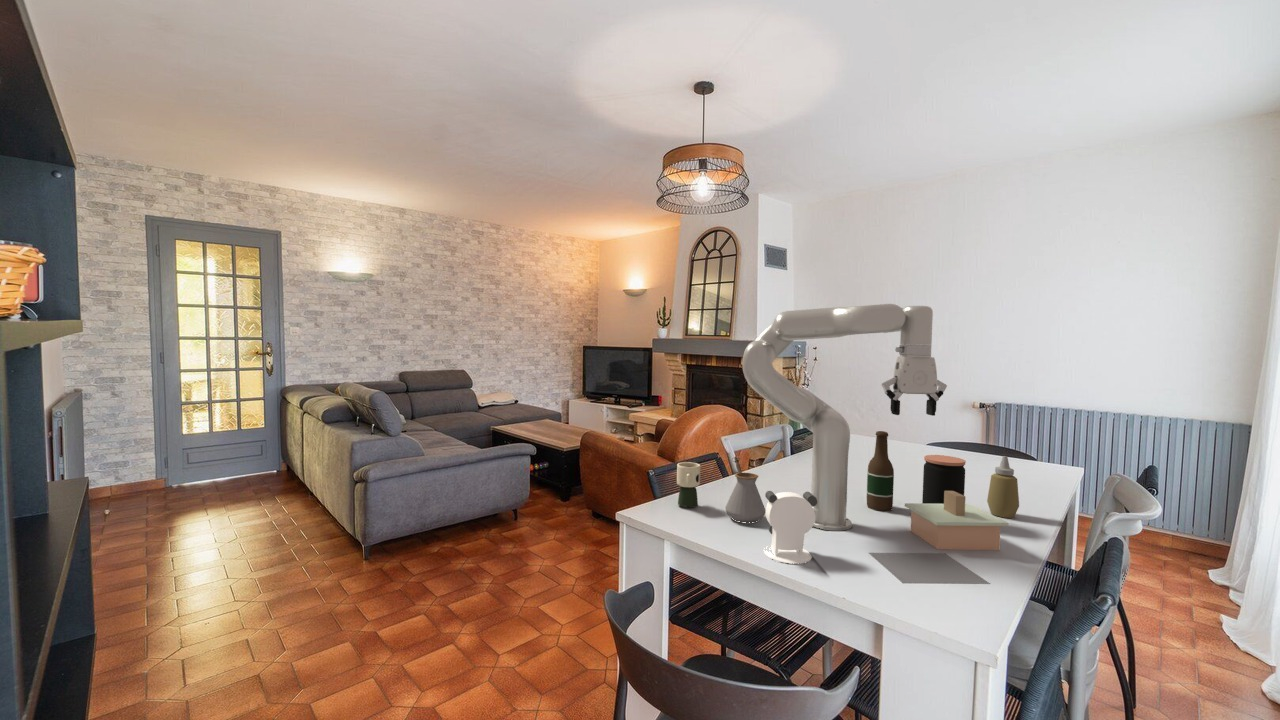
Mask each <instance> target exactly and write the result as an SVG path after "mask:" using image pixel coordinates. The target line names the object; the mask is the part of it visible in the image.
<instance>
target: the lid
mask: <svg viewBox="0 0 1280 720" xmlns="http://www.w3.org/2000/svg"><path fill="white" fill-rule="evenodd" d="M904 507H905V508H908V510H910V511H911V510H912V511H914V512H915V513H917V514H919V515H920V516H922V517H924V518H925V519H927V520H929V521H930V522H932V523H934V524H935V525H950V526H1000V527H1009V523H1010V522H1008V521H1006V520H1004V519H1002V518H1001V517H999V516H996V515H993V514H991V513H988V512H986V511H985V510H983V509H981V508H979V507H977V506H974V505H973V504H970V503H966V496H965V495H964V496H963V495H961V494H959V493H957V492H955V491H944V504H924V503H920V502H919V503H916V502H915V503H914V502H913V503H911V502H907V503H904Z"/></svg>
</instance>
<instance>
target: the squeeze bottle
mask: <svg viewBox="0 0 1280 720" xmlns="http://www.w3.org/2000/svg"><path fill="white" fill-rule="evenodd" d="M1009 463H1010V462H1009V458H1008V456H1005V455H1003V456H1002V458H1001V461H1000V464H999V466H995V468H994V473H993V474H991V476H990V482H989V488H988V494H987V499H986V502H987V505H988V507H989V511H990V514H991V515H993V516H995V517H998V518H1005V519H1011V518H1012V519H1013V518H1014V517H1015V515H1016V514H1017V512H1018V510H1019V508H1020V497H1019V485H1018V484H1019V483H1018V478H1017V477H1016V476H1014V473H1015V470H1014V469H1013V468H1011V467H1010V464H1009Z"/></svg>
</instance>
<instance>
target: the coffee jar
mask: <svg viewBox="0 0 1280 720" xmlns="http://www.w3.org/2000/svg"><path fill="white" fill-rule="evenodd" d="M923 457H924V458H923V460H924V461H925V463H924V464H923V472H922V473H923V478H922V479H923V480H922V499H921V502H922V503H924V504H944V491H955V492H957V493H959V494H961V495H963V496H965V488H966V487H965V486H966V468H965V467H964V466H965V465H966V460H965V459H964V458H960V457H957V456H951V455H942V454H928V455H924V456H923Z"/></svg>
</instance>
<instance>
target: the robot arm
mask: <svg viewBox="0 0 1280 720" xmlns="http://www.w3.org/2000/svg"><path fill="white" fill-rule="evenodd" d="M933 312H934V311H933V308H932V307H931V306H929V305H908V306H903V307H901V306H899V305H898V304H894V303H883V304H882V303H881V304H869V305H859V306H834V307H823V308H811V309H796V310H795V309H794V310H785V311H782V312H780V313H778V314H777V315H776V316H775V317H774V319H773V321H772V323H771V324H770V325H769V326H768V327H767V328H766V329H765V330H764V331H763V332H762V333H761V334H760V335H759V336H758V337H757V338H756V339H755V340H753V341H751V342H749V343H748V344H747V346H746V347H745V349H744V352H743V356H742V363H741V365H742V372H743V375H744V378H745V380H746V382H747V384H748V385H749V386H750V388H751V389H752V390H754V391H755V393H757V394H758V395H759V396H760V397H762V398H764V400H766V401H767V402H768V403H769V404H771V405H772V406H773V407H775V408H776V409H777V410H779V412H781V413H782V414H783V415H785V417H787V418H788V419H789V420H792V421H793V422H796V423H799V424H800V425H802V426H803V427H805V429H807V430H808V431H810V432H812V454H811V455H812V457H811V459H812V460H811V461H812V462H811V488H810V489H811V492H810V493H811V494H812V495H813V496H815V497H816V499H817V504H816V506H812V507H813V510H814V512H815V523H814V525H813V527H812V528H817V529H819V528H820V530H825V531H833V532H834V531H835V532H836V531H837V532H838V531H839V532H840V531H842V532H843V531H847V530H849V529H851V528H852V527H853V523H852V520H851V519H850V518H848V517H847V502H848V501H847V500H848V499H847V498H848V472H849V471H848V468H849V466H848V465H849V449H850V443H851V442H850V441H851V432H850V431H851V430H850V425H849V424H848V421H847V419H845V417H844V416H843V415H842V414H841V413H840V412H839V411H838V410H836V409H835V408H833V407H832V406H831V405H829V404H827V402H824V400H822V399H821V398H819V397H818V396H817V395H815V394H814V393H812V392H811V391H809V390H808V389H806V388H805V387H804V388H803V387H801V386H800V387H799V386H798V385H796V384H794V383H793V382H792V381H790V380H789V378H786V376H784V375H782V374H781V373H780V372H779V371H777V370H776V369H775V367H774V365H773V363H774V361H775V360H777V358H778V357H779V356H780V355H781V354H783V352H784V351H786V349H788V347H789V346H790V345H792V343H793V342H794V341H804V340H816V339H817V340H818V339H832V338H833V339H834V338H841V337H846V336H853V335H854V336H855V335H864V334H865V335H866V334H867V335H868V334H880V333H881V334H882V333H883V334H886V333H894V332H900V339H899V340H900V342H899V343H900V345H899V346H898V347H897V346H895V348H894V349H895V352H896V353H899V354H898V355H899V356H897V357H896V361H895V366H894V370H893V377H892V378H890V379H888V380H886V381H884V382H881V387H882V388H883V392H884V394H885V395H886V396H887V397H888V398H889V400H890V412H891V414H892V415H895V416H900V414H901V400H899V399H900V398H901V397H902V396H903V394H905V395H926V397H927V398H928V399H927V400H926V406H925V407H926V408H925V409H926V410H925V412H926V413H925V414H926V415H928V416H936V412H937V402H938V401H939V400H940V398H941V397H942V396H944V392H945V391H946V390H947V387H948V385H947V384H946V383H944V382H943V381H941V380H939V379H938V374H937V373H938V372H937V371H938V370H937V364H936V359H935V357H933V356H932V341H933V320H934V319H933V316H934V314H933ZM890 386H892V388H893V391H892V390H891V388H890Z"/></svg>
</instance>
